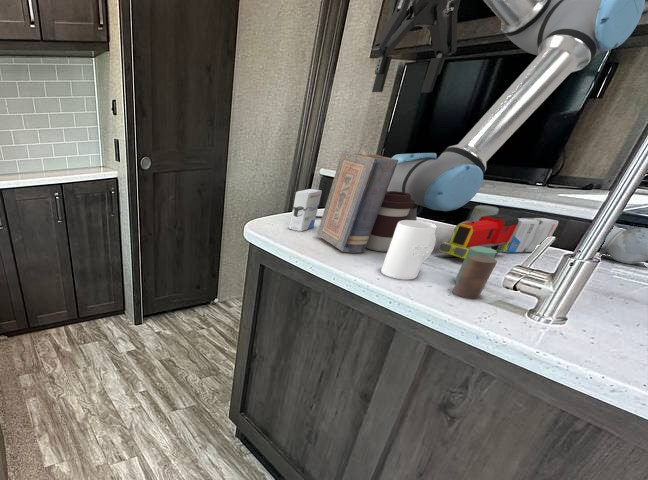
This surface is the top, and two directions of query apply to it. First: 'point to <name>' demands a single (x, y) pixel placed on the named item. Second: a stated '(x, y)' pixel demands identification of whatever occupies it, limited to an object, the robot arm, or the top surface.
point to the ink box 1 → (305, 209)
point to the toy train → (481, 235)
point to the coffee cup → (389, 219)
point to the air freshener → (481, 213)
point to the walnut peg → (474, 276)
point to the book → (355, 199)
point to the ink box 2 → (530, 234)
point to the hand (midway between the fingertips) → (401, 92)
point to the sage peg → (476, 251)
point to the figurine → (626, 245)
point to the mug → (409, 249)
